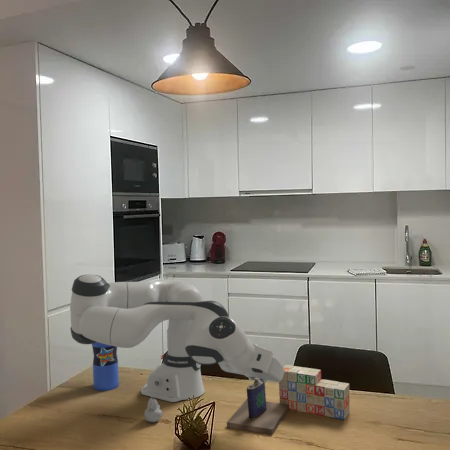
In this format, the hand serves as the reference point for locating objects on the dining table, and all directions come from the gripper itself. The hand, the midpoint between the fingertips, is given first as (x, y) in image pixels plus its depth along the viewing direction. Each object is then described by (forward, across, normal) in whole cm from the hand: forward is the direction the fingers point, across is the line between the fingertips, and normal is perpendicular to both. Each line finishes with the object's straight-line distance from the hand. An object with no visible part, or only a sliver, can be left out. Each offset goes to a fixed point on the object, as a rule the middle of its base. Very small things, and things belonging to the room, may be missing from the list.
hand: (258, 378), depth 149 cm
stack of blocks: (+18, +12, +1) cm, 22 cm away
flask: (+7, 0, -8) cm, 11 cm away
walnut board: (+8, 0, -9) cm, 12 cm away
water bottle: (+6, -61, -12) cm, 63 cm away
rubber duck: (-4, -27, -21) cm, 35 cm away
